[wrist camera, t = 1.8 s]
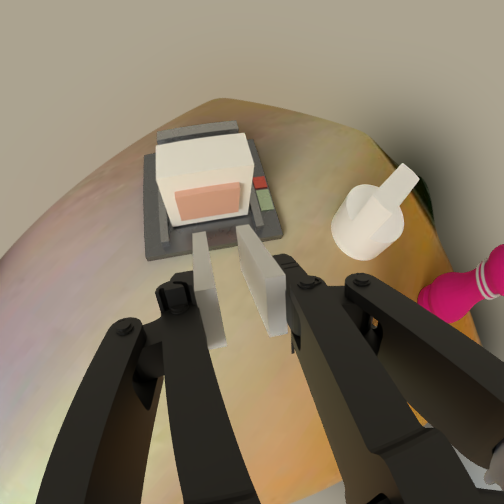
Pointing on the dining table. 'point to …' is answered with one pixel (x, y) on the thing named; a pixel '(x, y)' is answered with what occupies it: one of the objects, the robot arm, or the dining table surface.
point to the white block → (205, 178)
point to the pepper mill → (464, 288)
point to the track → (217, 231)
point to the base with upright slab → (372, 215)
